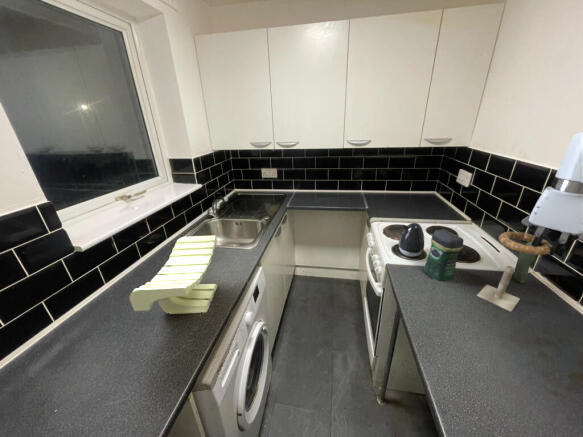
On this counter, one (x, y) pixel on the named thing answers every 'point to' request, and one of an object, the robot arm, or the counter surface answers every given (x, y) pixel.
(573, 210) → the robot arm
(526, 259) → the vegetable
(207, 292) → the slatted lounge chair
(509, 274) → the post
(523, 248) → the ring
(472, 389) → the counter surface
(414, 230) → the black egg shaped dome
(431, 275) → the coffee jar
